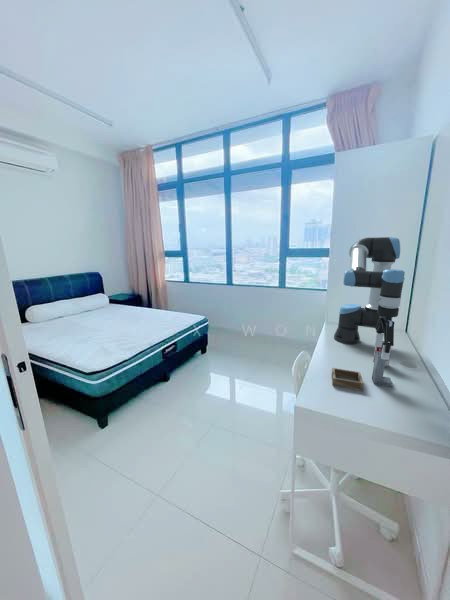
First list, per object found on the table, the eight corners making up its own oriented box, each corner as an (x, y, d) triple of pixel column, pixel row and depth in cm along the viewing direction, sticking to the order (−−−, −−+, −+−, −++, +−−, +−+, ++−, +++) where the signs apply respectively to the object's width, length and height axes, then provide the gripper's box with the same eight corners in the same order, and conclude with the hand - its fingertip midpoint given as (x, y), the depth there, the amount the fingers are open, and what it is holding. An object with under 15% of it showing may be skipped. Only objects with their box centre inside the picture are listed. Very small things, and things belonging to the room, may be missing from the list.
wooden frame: (331, 374, 119) (332, 367, 118) (359, 379, 115) (360, 372, 114) (332, 385, 110) (333, 378, 109) (362, 390, 106) (363, 383, 105)
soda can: (390, 368, 124) (394, 346, 122) (375, 366, 126) (379, 345, 123) (384, 361, 131) (388, 340, 128) (371, 360, 132) (374, 340, 129)
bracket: (373, 384, 111) (378, 355, 107) (371, 378, 115) (375, 351, 112) (391, 387, 108) (397, 358, 105) (389, 381, 113) (393, 353, 109)
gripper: (372, 299, 117) (366, 341, 121) (385, 312, 94) (377, 363, 98) (391, 300, 114) (384, 343, 119) (408, 314, 91) (399, 367, 96)
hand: (381, 352), depth 109 cm, fingers open, 13 cm apart
